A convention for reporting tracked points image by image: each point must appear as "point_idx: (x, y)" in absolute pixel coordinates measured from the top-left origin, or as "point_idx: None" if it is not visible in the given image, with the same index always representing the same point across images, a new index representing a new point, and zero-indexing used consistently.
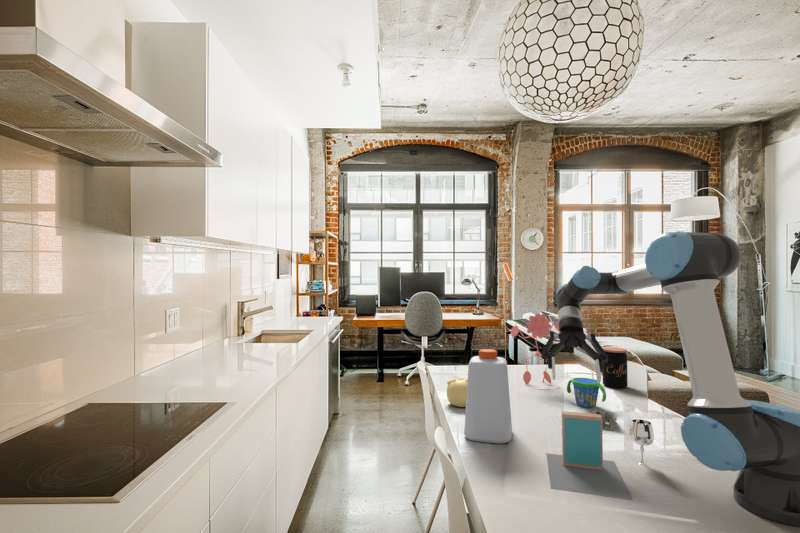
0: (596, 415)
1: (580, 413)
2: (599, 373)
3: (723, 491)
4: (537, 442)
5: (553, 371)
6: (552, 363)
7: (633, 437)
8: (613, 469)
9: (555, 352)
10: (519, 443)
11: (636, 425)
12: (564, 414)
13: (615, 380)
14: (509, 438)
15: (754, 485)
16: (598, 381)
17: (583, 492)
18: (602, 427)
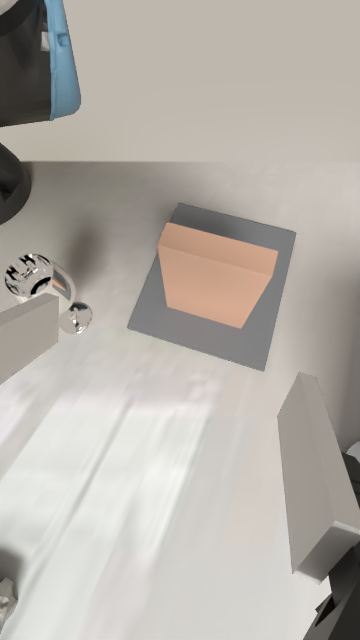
0: (174, 237)
1: (217, 253)
2: (28, 305)
3: (12, 231)
4: (263, 455)
5: (315, 392)
6: (337, 449)
7: (74, 286)
8: (150, 292)
9: (324, 636)
10: None
11: (56, 265)
12: (272, 250)
13: None
14: (353, 447)
15: (1, 154)
16: (54, 329)
17: (246, 221)
18: (4, 580)
